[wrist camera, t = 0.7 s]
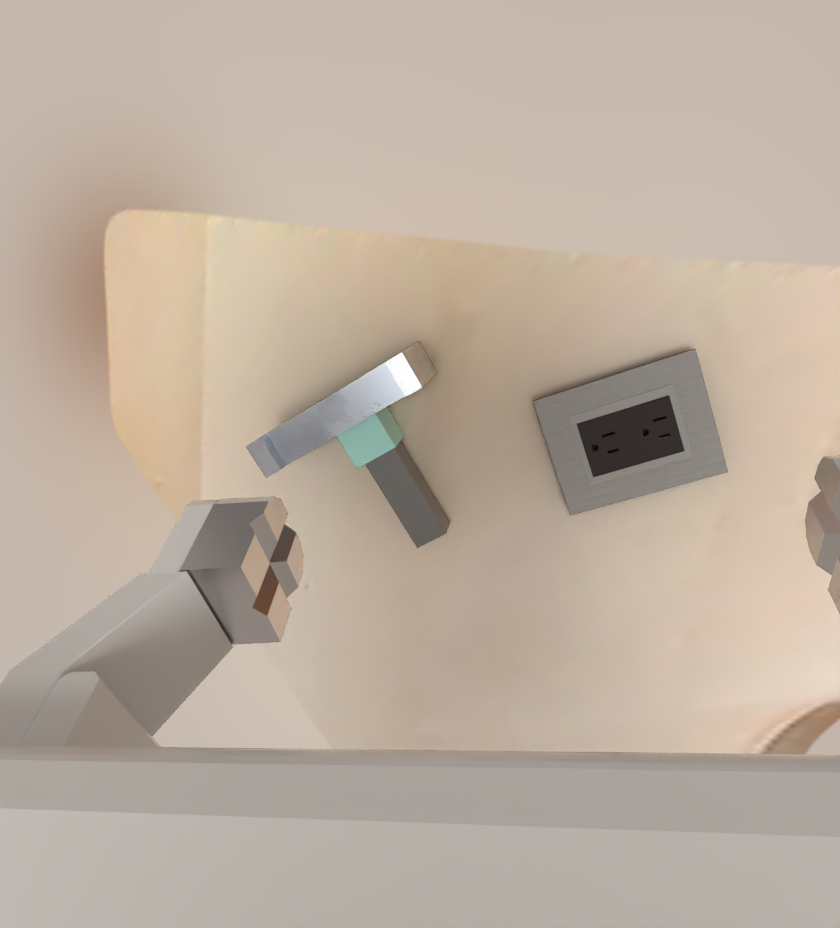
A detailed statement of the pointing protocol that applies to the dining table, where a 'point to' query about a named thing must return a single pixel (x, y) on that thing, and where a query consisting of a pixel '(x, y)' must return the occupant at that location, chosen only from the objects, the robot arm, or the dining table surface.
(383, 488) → the plug
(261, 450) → the grey piece
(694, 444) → the electrical outlet
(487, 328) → the dining table surface
